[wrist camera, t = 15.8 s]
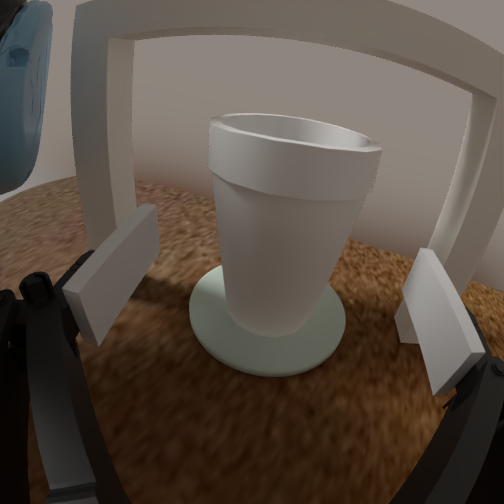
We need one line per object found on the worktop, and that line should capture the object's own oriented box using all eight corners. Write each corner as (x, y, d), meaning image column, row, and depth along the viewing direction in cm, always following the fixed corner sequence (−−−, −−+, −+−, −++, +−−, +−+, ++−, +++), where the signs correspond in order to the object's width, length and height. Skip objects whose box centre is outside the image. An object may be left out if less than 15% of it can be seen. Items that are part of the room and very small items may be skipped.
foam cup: (186, 285, 23) (184, 114, 16) (280, 257, 27) (302, 115, 20) (249, 377, 17) (283, 153, 9) (353, 322, 21) (412, 153, 14)
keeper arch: (73, 326, 19) (25, 1, 6) (137, 243, 29) (133, 16, 16) (441, 388, 17) (581, 87, 4) (410, 288, 26) (477, 69, 14)
